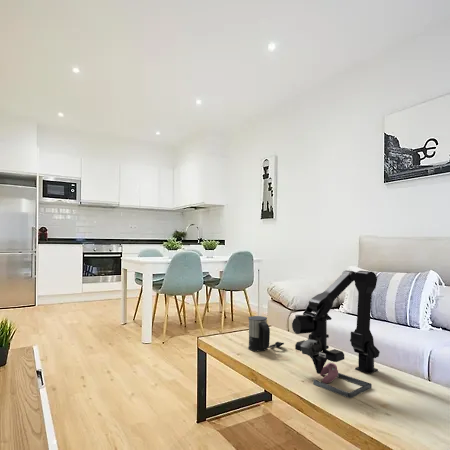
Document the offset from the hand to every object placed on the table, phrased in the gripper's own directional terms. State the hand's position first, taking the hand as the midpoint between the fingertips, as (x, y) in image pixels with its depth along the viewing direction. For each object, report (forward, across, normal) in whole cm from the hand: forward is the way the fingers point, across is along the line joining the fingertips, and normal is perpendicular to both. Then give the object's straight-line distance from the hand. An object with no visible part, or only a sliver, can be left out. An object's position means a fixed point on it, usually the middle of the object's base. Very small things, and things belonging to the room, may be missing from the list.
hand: (318, 373), depth 132 cm
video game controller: (+2, +3, +2) cm, 4 cm away
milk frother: (+2, -38, +10) cm, 40 cm away
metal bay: (+2, +9, 0) cm, 9 cm away
